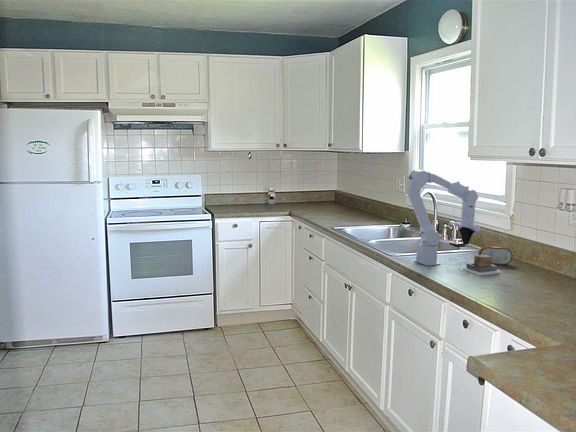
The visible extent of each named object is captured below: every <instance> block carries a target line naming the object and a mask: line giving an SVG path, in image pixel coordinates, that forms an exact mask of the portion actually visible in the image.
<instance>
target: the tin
mask: <svg viewBox="0 0 576 432" xmlns="http://www.w3.org/2000/svg"><path fill="white" fill-rule="evenodd" d="M478 255H488V256H492V258H491V264H492V265H499V264H502V265H503V266H505V265H508V264H509V263H511V262H512V260H513V257H514V255H513V252H512V250H511V249H510V248H509V247H506V246H500V245H496V246H495V245H485V246H482V247H481V248H480V249H479V251H478ZM502 265H501V266H502Z"/></svg>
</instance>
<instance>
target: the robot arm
mask: <svg viewBox="0 0 576 432" xmlns="http://www.w3.org/2000/svg"><path fill="white" fill-rule="evenodd" d="M407 180H408V183H407V188H406V194H407V196H408V198H409V201H410V204H411V206H412V209H413V211H414V213H415V217H416V220H417V222H418V224H419V230H420V239H421V240H422V241H421V242H420V243H419V244H418V245H417V247H416V257H415V259H414V262H415V263H418V264H422V265H424V266H427V267H428V266H438V265H441V263H440V262H438V249H439V248H438V247H439V246H438V245H439V243H440V242H441V235H440V234H439V232H438V233H437V230H436V229H435V227H434V225H433V224H432V222H431V220H430V217H429V215H428V212H427V209H426V207H425V205H424V201H423V199H422V196H421V194H420V192H421V191H422V189H423V188H424V187H425V185H427V183H428V184H432V183H434V184H436V185H438V186H441V187H443V188H445V189H446V190H447V192H448V193H449V194H451V195H454V196H455V197H457V198H459V199H461V200H462V201H461V202H462V205H461V217H460V222H459V221H454V227H458V228H459V229H458V231H459V233H460V236H461V239H462V240H461V241H462V244H463V245H469V243H470V240H471V238H472V237H473V234H474V233H475V232H480V231H481V226H478V225H476V224H475V213H476V202H477V201H478V200H479V196H478V195H479V194H478V192H477V191H476V190H475V189H471V188H470V186H468V185H466V186H465V185H463V184H461V181H451V182H450V181H448V180H447V179H445V178H443V177H441V176H439V175H437V174H435V173H433V172H428V171H426V170H421V169H413V170H412V171H411V172H410V174H409V176H408V179H407Z"/></svg>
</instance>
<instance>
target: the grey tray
mask: <svg viewBox="0 0 576 432" xmlns="http://www.w3.org/2000/svg"><path fill="white" fill-rule="evenodd" d="M462 271H464V272H467V273H471V274H473V275H476V276H486V275H494V274H495V275H497V274H501V270H499V269H498V265H497V264H491V266H487V267H478V266H475V265H474V262H469V263H466V266H465V267H463V268H462Z"/></svg>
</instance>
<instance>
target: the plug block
mask: <svg viewBox="0 0 576 432" xmlns="http://www.w3.org/2000/svg"><path fill="white" fill-rule="evenodd" d="M473 257H474V258H473V263H474V265H475V266H478V267H487V266H491V258H492V256H488V255H475V254H474V256H473Z"/></svg>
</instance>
